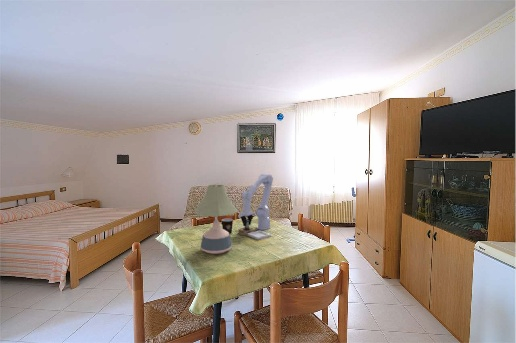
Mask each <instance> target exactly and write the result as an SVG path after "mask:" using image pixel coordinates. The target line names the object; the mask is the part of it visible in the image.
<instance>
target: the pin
mask: <svg viewBox="0 0 516 343" xmlns="http://www.w3.org/2000/svg"><path fill="white" fill-rule="evenodd" d="M249 221H250V219H248V218H247V219H246V226H244V228H245V230H246V231H247V230H249V227H250V225H249Z"/></svg>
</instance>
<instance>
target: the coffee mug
mask: <svg viewBox="0 0 516 343" xmlns="http://www.w3.org/2000/svg"><path fill="white" fill-rule="evenodd" d="M219 222H220V221H219ZM233 223H234V219H232V218H223V219H221V222H220V225H221V226H222V227H221V228H222V229H224V230H225V231H227V232H229V234H232V232H233Z"/></svg>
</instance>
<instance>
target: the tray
mask: <svg viewBox="0 0 516 343" xmlns="http://www.w3.org/2000/svg"><path fill="white" fill-rule="evenodd" d="M271 235H272V234H271V233H268V232H266V231H264V230H257V231H256V230H255V232H251V233H248V235H247V237H249V238H252V239H254V240H257V241H259V240H263V239H267V238H271Z"/></svg>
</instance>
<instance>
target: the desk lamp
mask: <svg viewBox="0 0 516 343" xmlns="http://www.w3.org/2000/svg"><path fill="white" fill-rule="evenodd" d="M238 213H239V211H238V209H237V208H236V207H235V205H234V204H233V203H232V201H231V200H230V198H229V196H228V194H227V191H226V187H225V185H223V184H218V182H215V183H214V184H209V185H208V186H207V189H206V191H205V194H204V197H203V199H202V201H201V202H200V204H199V205H198V206H196V208H195V209H194V214H195V215H197V216H201V217H202V216H205V217H206V216H207V217H214V220H213V221H212V227H211V228H210V229H209V230H207V231H205V232H204V233H203V235H202V238H201V244H200V249H201V251H202V252H204V253H207V254H210V255H220V254H223V253H226V252H228V251H230V249H232V246H233V244H232V239H231V235H230V234H229V232H227V231H225V230H224V229H223V227H221V223H220V221H219V220H218V219H219V218H218V217H224V216H229V215H233V214H238Z"/></svg>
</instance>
